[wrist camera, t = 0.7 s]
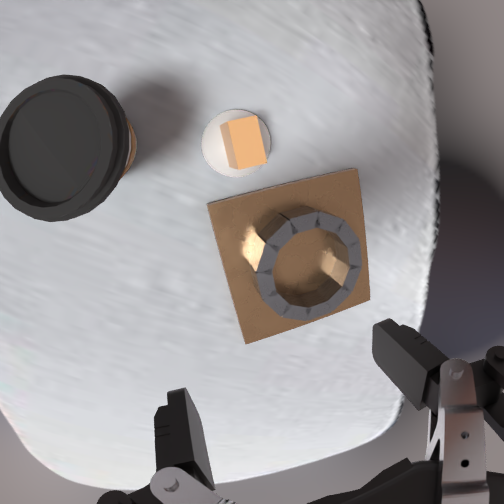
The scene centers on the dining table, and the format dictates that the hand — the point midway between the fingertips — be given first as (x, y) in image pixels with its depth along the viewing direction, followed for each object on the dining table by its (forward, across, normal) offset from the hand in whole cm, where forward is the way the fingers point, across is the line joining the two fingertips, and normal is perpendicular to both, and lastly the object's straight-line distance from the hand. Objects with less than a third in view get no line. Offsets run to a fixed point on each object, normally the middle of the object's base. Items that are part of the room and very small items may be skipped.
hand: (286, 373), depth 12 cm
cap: (+22, -4, -8) cm, 23 cm away
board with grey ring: (+21, -8, +5) cm, 23 cm away
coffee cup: (+22, +8, -11) cm, 26 cm away
